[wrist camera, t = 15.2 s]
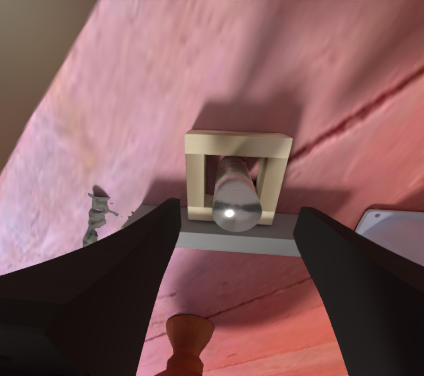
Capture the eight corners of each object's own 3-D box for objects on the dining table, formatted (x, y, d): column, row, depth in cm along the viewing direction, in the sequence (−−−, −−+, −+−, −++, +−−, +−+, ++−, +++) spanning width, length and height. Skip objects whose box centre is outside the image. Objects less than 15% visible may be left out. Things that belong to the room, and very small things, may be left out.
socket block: (282, 133, 14) (293, 138, 12) (265, 210, 18) (271, 224, 15) (190, 129, 14) (184, 133, 12) (192, 205, 18) (188, 219, 16)
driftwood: (114, 295, 29) (107, 309, 27) (75, 281, 28) (65, 294, 26) (152, 211, 20) (145, 221, 18) (98, 186, 19) (84, 195, 17)
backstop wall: (320, 215, 18) (345, 243, 14) (315, 230, 19) (336, 259, 15) (141, 204, 19) (121, 227, 15) (143, 218, 20) (125, 243, 16)
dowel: (250, 158, 15) (267, 194, 9) (244, 186, 17) (255, 234, 11) (218, 154, 15) (215, 188, 9) (215, 183, 17) (209, 228, 11)
